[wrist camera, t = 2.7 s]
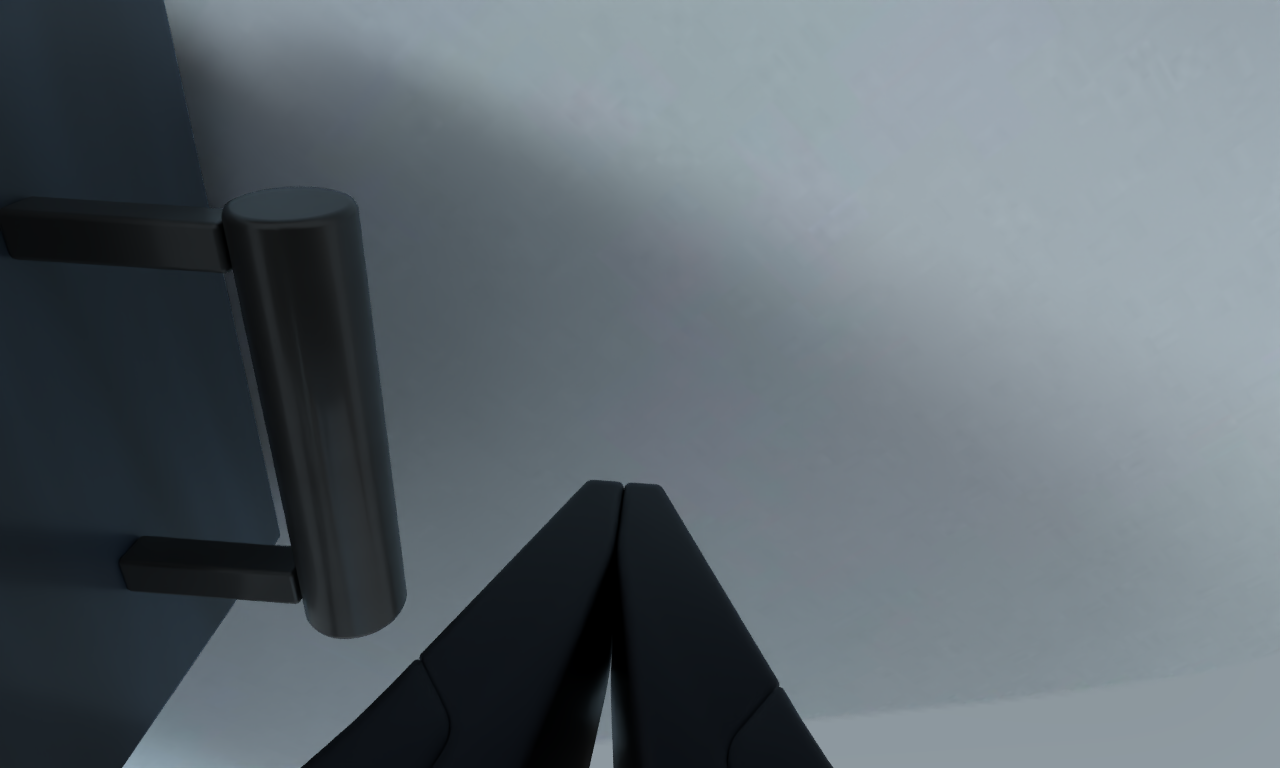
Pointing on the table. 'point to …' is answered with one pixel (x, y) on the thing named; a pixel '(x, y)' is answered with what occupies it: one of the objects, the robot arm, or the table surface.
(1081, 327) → the table surface
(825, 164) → the table surface
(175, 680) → the drawer
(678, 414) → the table surface
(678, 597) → the robot arm
